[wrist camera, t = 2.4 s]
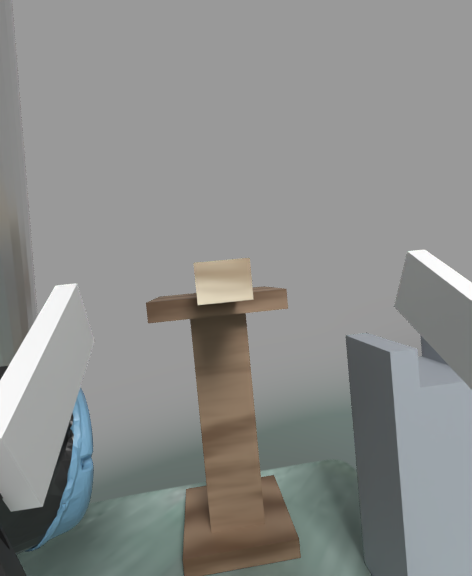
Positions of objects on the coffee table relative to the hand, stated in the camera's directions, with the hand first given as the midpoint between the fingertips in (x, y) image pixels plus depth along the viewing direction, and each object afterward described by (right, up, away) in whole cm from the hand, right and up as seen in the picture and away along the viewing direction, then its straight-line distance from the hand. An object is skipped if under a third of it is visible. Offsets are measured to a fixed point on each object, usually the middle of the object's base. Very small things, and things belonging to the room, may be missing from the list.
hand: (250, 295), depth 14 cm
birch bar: (-3, 0, +24) cm, 24 cm away
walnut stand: (0, -28, +28) cm, 39 cm away
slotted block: (+18, -27, +18) cm, 37 cm away
